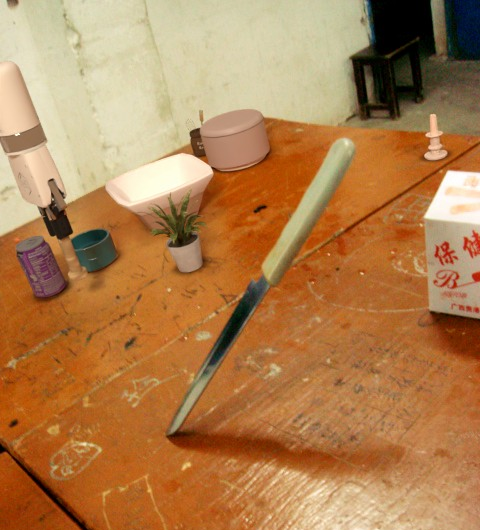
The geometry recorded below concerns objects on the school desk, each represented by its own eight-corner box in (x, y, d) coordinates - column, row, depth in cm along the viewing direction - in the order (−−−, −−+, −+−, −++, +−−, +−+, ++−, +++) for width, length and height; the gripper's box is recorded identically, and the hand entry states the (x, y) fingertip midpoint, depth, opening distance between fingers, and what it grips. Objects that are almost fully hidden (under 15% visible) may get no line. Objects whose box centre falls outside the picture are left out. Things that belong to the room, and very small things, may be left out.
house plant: (158, 295, 126) (131, 221, 118) (148, 266, 138) (123, 197, 129) (226, 271, 128) (204, 196, 119) (210, 245, 139) (189, 175, 131)
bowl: (139, 251, 145) (123, 209, 140) (113, 220, 165) (98, 182, 160) (232, 213, 151) (220, 171, 145) (195, 187, 171) (184, 149, 165)
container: (284, 148, 180) (275, 107, 174) (243, 175, 170) (233, 132, 164) (236, 146, 191) (227, 107, 185) (196, 171, 181) (185, 131, 175)
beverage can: (44, 284, 143) (22, 236, 137) (72, 280, 141) (51, 232, 135) (30, 301, 137) (6, 253, 131) (59, 298, 135) (36, 249, 129)
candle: (437, 149, 153) (434, 106, 148) (452, 154, 149) (449, 110, 143) (419, 157, 152) (416, 114, 146) (433, 162, 148) (430, 118, 142)
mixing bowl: (89, 278, 140) (79, 254, 137) (67, 267, 147) (57, 245, 144) (126, 256, 145) (118, 233, 142) (104, 247, 152) (95, 225, 149)
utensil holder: (190, 155, 194) (178, 117, 188) (205, 147, 197) (194, 109, 191) (202, 157, 190) (191, 118, 184) (217, 149, 193) (207, 110, 187)
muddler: (75, 283, 122) (46, 213, 114) (66, 278, 125) (38, 210, 117) (91, 274, 124) (64, 205, 116) (82, 270, 126) (55, 202, 119)
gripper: (-15, 143, 113) (26, 235, 123) (23, 152, 102) (64, 253, 112) (23, 128, 117) (59, 219, 127) (63, 135, 106) (100, 234, 116)
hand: (61, 234), depth 119 cm, fingers closed on muddler, 2 cm apart
